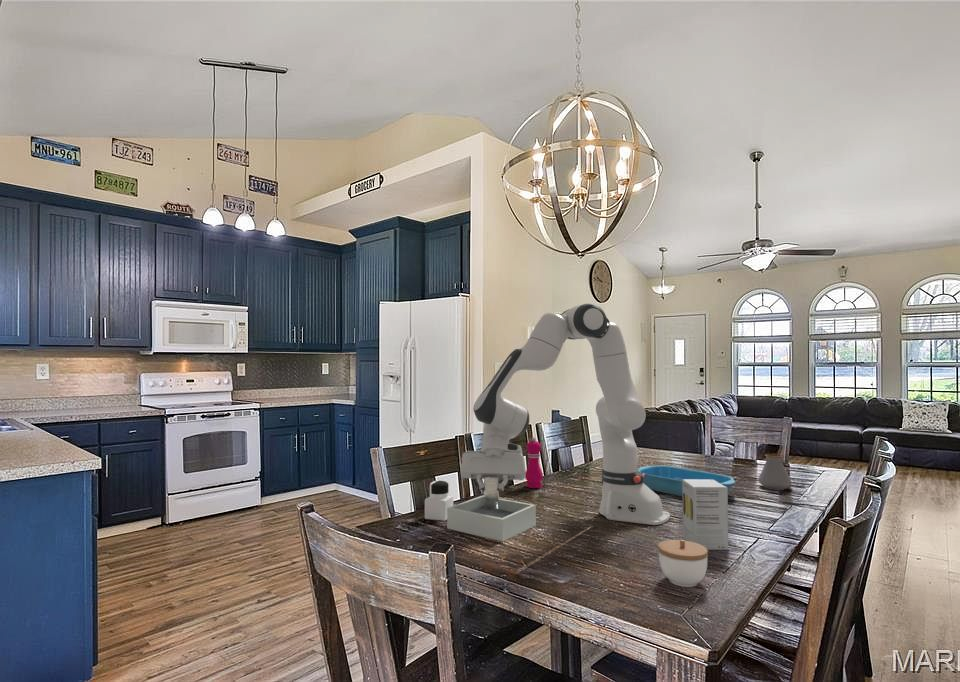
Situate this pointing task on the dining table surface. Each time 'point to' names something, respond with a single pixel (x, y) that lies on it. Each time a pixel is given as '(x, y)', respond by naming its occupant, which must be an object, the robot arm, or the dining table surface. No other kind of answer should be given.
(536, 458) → the pepper mill
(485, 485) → the tin can
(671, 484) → the casserole dish
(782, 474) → the coffee pot
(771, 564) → the dining table surface
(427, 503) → the medicine bottle
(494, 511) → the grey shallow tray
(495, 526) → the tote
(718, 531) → the supplement box
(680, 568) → the lidded jar
